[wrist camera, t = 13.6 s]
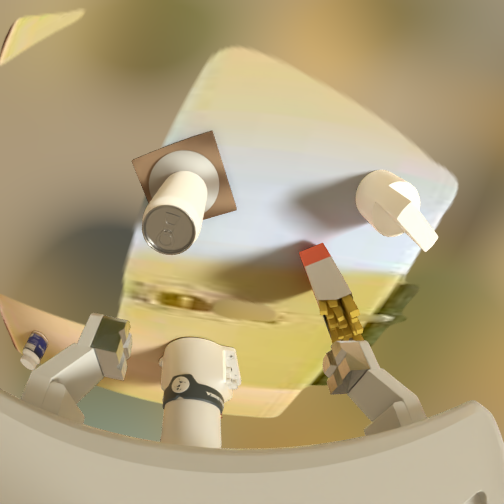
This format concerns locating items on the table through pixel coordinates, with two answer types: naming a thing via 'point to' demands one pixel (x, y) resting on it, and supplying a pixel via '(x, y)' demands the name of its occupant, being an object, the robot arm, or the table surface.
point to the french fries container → (332, 295)
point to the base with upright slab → (393, 208)
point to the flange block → (189, 159)
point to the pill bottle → (34, 350)
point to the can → (175, 213)
